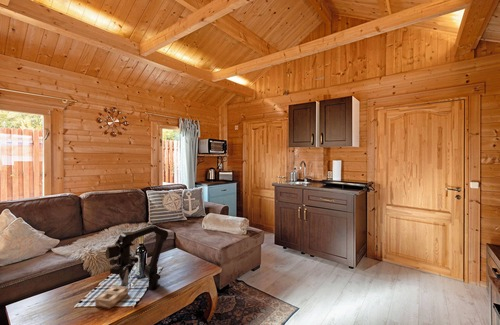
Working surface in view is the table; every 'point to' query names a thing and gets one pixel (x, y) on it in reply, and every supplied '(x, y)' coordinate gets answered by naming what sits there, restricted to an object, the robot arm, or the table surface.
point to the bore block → (111, 297)
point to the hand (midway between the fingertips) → (124, 278)
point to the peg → (125, 278)
